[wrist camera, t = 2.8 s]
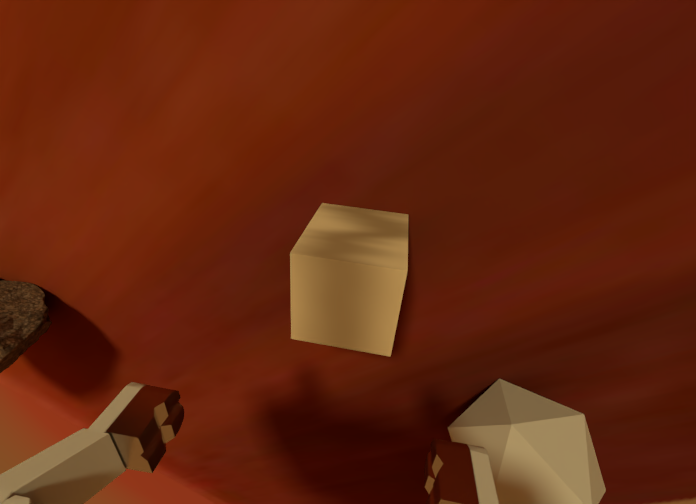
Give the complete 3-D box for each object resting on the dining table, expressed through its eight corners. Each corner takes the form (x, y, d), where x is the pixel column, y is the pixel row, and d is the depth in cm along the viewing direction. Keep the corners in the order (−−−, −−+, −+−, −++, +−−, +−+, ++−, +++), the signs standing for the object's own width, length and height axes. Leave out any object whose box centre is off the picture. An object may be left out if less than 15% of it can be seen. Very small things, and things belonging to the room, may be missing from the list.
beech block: (408, 214, 19) (407, 270, 14) (395, 285, 21) (390, 356, 16) (322, 202, 19) (290, 252, 14) (319, 273, 22) (291, 338, 17)
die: (422, 389, 26) (452, 545, 22) (481, 375, 19) (544, 605, 15) (510, 380, 28) (554, 521, 24) (597, 363, 21) (682, 564, 17)
